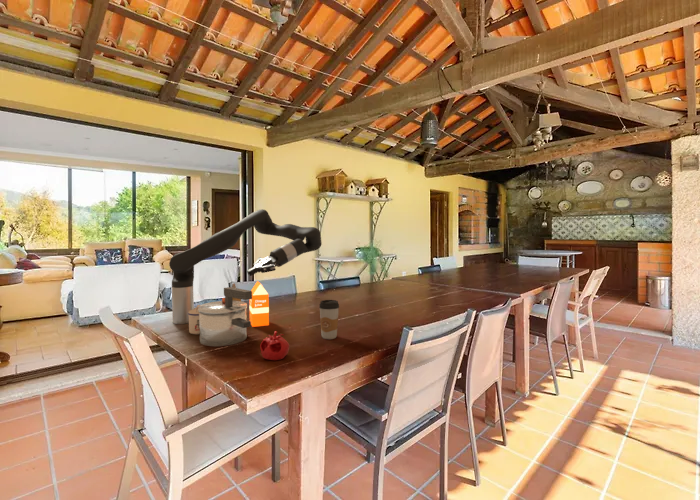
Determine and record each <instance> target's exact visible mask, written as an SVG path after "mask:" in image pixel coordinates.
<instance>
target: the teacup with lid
mask: <svg viewBox="0 0 700 500" xmlns="http://www.w3.org/2000/svg"><path fill="white" fill-rule="evenodd" d="M200 305H201V304H197V306H196V307H194V309H193V310H190V311H189V312H188V314H189V323H188V333H190V335H191V334H192V335H200V325H199V312H198V307H199V306H200Z"/></svg>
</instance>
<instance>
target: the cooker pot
mask: <svg viewBox="0 0 700 500" xmlns="http://www.w3.org/2000/svg"><path fill="white" fill-rule="evenodd" d="M199 325H200V334H199V343H200V344H201V345H204V346H206V347H207V346H208V347H222V346H223V347H225V346H231V345H235V344H239V343H241V342H244V341H245V340H246V339H247V337H248V336H247V332H248V331H247V328H251V327H252V325H251V321H250V320H247V309H246V310H244V311H241V312H237V313H232V314H223V315H208V314H202V313H199Z"/></svg>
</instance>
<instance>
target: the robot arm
mask: <svg viewBox="0 0 700 500" xmlns="http://www.w3.org/2000/svg"><path fill="white" fill-rule="evenodd" d="M252 227H254V229H255V231H256V232H257V233H258V234H261V235H268V236H274V237H275V236H276V237H281V238H284V239H285V238H286V239H289V240H290V241H289V242H288V243H285V244H283V245H282V246H281V245H280V246H279V247H277V248H275V249H273V250H271V251H270V252H269V255H268V256H265V257H264V258H262V257H261V256H260V257H258V258H257V259H256V261H255V262H254V263H253V265H254V266H253V267H251V268H249V269H248V270H247V269H246V270H247V271H246V273H247V275H248V276H249V277H251V276H254V275H256V274H257V273H262V274H264V273H268V272H269V273H270V272H274V271H276V267H277V268H280V267H282V266H284V265H286V264H288V263H289V262H292V261H293V260H294V259H296V258H298V257H299V256H301V255H303V254H305V253H309V252H315V251H318V250H319V249H320V248H321V246H322V245H323V244H322V243H323V242H322V237H321V236H322V235H321V231H320V230H319V228H317V227H315V226H313V227H312V226H309V227H308V226H299V225H296V224H291V223H287V224H283V225H278V224H276V223H274V221H273V220H272V218H271V216H270V214H269V212H268V211H267V210H266V209H257V210H255V211H253V212H252V213H250V214H249V215H246V217H245V216H244V218H242V219H240V220H239V221H238V222H236V223H234V224H233V225H230V226H228V227H226V228H225V229H222V230H220V231H217V232H216V233H214V234H212V235H211V236H209V237H208V238H206V239H205V240H203V241H201V242H200V243H198V244H197V245H196V246H193V247H192V248H189V249H187V250H185V251H182V252H178V253H175V254H174V255H173V256H172V257H171V258H170V259H169V264H168V265H169V267H170V269H171V271H172V273H173V274H172V280H171V300H172V301H171V302H172V303H171V304H172V305H171V306H172V308H171V309H172V324H175V325H182V324H183V325H184V324H189V314H188V312H189V311H190V310H193V309H194V308H195V306H194V304H195V303H194V298H195V297H194V278H195V265H197V264H199V263H201V262H202V261H205V260H206V259H209V258H211V257H215V256H217V255H219V254H221V253H224V252H226V251H228V250H229V249H231V248H232V247H234V246H235V245H236V244H237V243H238V241H239V240H240V238H241V237H242V236H243V234H244V233H246V231H248V230H249V229H251V228H252ZM291 240H292V241H291ZM304 240H305V242H304Z"/></svg>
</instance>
